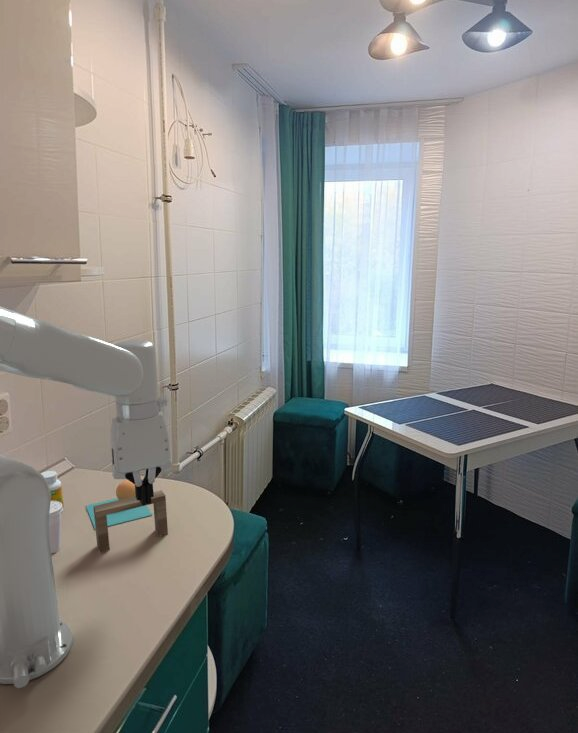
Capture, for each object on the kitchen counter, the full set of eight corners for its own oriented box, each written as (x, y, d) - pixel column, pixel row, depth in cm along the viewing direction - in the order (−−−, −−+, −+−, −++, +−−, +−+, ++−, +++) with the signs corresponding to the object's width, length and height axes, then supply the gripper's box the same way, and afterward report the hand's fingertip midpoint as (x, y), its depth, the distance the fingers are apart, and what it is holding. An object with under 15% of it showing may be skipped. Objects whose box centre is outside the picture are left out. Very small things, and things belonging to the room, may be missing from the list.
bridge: (167, 533, 115) (165, 495, 113) (99, 552, 108) (95, 512, 106) (164, 527, 118) (161, 490, 116) (97, 545, 111) (93, 506, 109)
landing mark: (152, 515, 123) (152, 514, 123) (95, 529, 117) (95, 529, 117) (138, 493, 134) (138, 493, 134) (85, 506, 128) (85, 505, 128)
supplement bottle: (47, 519, 122) (42, 481, 120) (35, 512, 125) (30, 475, 123) (68, 510, 126) (64, 473, 124) (56, 504, 129) (52, 467, 127)
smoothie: (29, 550, 109) (21, 488, 106) (59, 538, 114) (52, 478, 111) (41, 562, 105) (33, 498, 102) (72, 548, 110) (65, 487, 107)
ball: (142, 502, 129) (140, 480, 128) (119, 507, 126) (117, 485, 126) (136, 497, 134) (134, 476, 133) (115, 501, 131) (112, 480, 130)
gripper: (172, 398, 101) (177, 485, 105) (91, 410, 93) (100, 503, 97) (184, 407, 94) (189, 500, 98) (98, 421, 87) (108, 521, 91)
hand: (145, 501), depth 98 cm, fingers closed
